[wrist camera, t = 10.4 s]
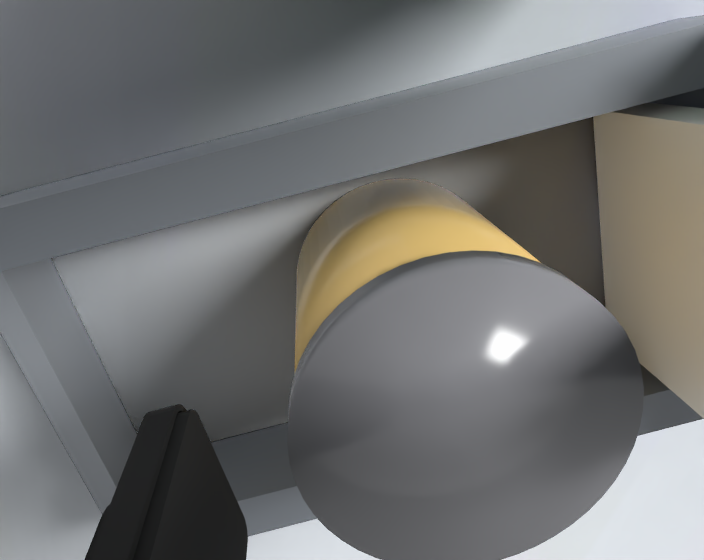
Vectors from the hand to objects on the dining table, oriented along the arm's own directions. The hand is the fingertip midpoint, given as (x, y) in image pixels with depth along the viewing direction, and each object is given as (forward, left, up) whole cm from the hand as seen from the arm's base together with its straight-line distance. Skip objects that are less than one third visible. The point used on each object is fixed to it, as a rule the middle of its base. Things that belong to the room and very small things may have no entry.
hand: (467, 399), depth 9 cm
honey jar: (+1, 0, -8) cm, 8 cm away
